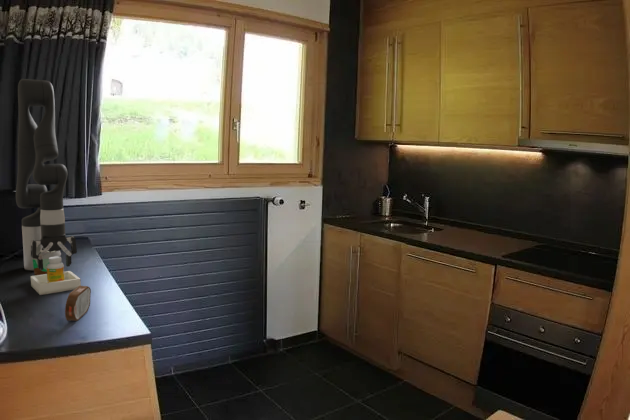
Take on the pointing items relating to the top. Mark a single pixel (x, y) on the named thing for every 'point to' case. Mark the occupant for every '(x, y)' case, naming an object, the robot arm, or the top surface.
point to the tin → (77, 303)
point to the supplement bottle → (55, 270)
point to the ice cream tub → (44, 262)
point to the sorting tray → (55, 283)
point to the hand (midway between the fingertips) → (54, 267)
